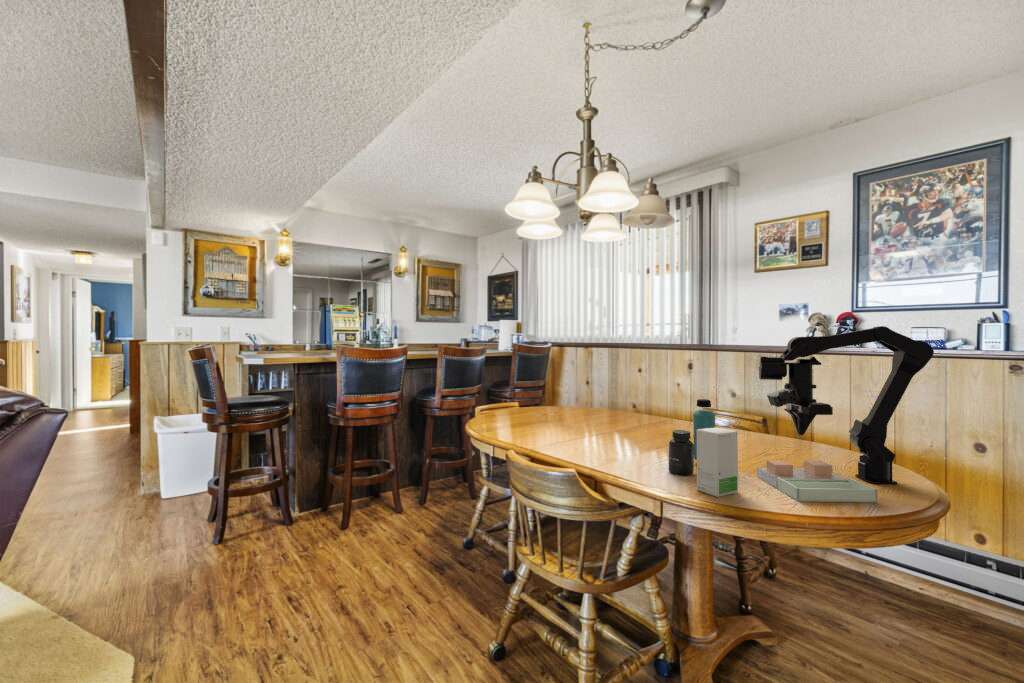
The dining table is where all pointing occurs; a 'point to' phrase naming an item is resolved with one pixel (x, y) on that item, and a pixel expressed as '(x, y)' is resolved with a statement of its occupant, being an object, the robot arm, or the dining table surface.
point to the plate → (797, 476)
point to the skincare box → (717, 461)
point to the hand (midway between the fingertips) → (800, 434)
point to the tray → (828, 491)
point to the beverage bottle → (702, 420)
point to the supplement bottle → (681, 454)
